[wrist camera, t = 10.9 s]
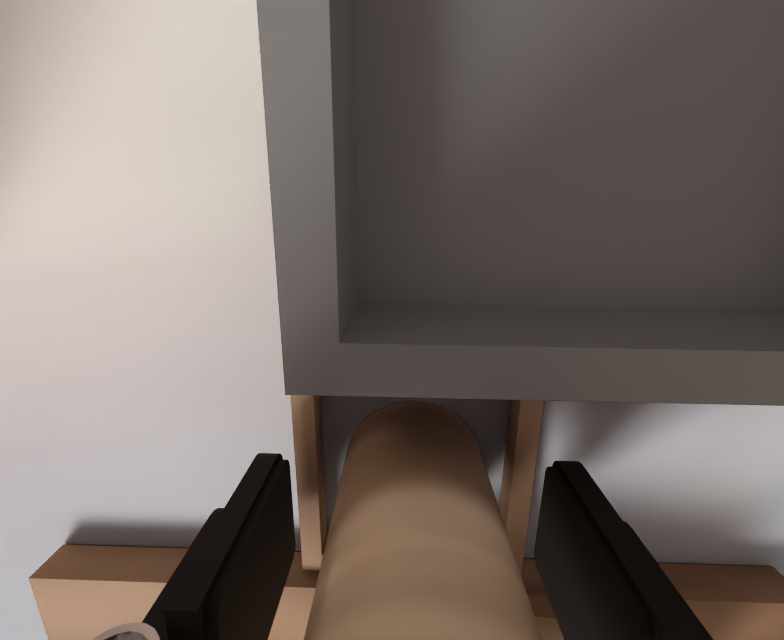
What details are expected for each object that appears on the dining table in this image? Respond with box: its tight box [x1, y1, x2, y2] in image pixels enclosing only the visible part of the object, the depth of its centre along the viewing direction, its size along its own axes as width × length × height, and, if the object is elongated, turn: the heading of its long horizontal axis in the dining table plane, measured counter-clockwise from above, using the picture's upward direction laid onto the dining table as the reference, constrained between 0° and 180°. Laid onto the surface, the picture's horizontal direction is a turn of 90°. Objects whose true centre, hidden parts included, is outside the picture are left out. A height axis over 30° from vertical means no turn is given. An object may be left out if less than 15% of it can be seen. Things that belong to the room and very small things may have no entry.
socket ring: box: [291, 395, 544, 574], centre depth 11 cm, size 7×7×1 cm
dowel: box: [304, 402, 542, 640], centre depth 8 cm, size 4×4×7 cm
